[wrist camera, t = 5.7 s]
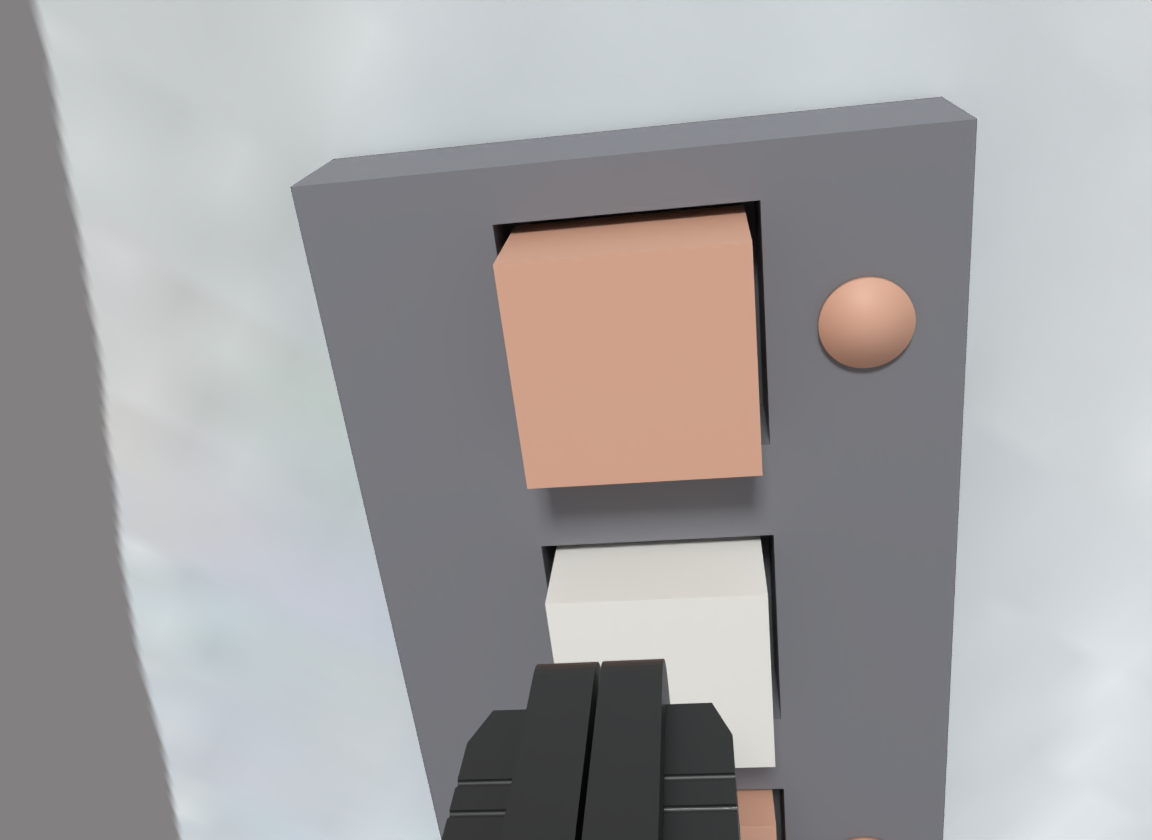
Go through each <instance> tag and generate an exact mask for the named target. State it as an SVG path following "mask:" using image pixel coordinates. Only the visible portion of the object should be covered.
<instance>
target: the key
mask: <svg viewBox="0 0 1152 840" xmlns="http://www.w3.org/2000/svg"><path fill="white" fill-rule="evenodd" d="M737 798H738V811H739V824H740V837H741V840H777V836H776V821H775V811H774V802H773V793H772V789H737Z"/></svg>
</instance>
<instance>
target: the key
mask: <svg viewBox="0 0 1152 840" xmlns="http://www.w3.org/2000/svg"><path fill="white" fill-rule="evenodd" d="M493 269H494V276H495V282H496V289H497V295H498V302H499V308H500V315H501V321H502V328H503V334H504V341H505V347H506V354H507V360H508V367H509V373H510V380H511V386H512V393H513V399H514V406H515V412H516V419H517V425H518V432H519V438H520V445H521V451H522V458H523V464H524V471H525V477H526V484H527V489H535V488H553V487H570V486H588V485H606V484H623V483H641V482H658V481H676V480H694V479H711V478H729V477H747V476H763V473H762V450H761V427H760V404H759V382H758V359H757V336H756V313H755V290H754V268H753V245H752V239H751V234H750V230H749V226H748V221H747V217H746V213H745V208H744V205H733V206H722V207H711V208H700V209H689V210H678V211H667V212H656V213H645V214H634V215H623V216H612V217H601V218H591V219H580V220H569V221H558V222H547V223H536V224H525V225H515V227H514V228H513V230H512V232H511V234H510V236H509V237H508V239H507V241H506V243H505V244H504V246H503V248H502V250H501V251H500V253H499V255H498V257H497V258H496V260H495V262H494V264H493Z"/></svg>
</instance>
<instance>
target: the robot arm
mask: <svg viewBox="0 0 1152 840" xmlns="http://www.w3.org/2000/svg"><path fill="white" fill-rule="evenodd" d="M457 780H458V786H457V787H455V791H454V794H453V798H452V802H451V806H450V809H449V812H450V816H449V818H447V821H446V825H445V828H444V832H443V836H442V840H741V837H740V824H739V811H738V798H737V785H736V772H735V759H734V746H733V735H732V733H731V731H730V730H729V728H728V727H727V725H726V724H725V722H724V721H723V719H722V717H721V716H720V714H719V713H718V711H717V710H716V708H715V707H714V705H713V704H712V703H687V704H670V696H669V687H668V678H667V669H666V663H665V659H644V660H619V661H603V662H602V665H601V666H600V664H599V662H576V663H551V664H537V665H536V667H535V670H534V674H533V678H532V683H531V688H530V693H529V698H528V703H527V708H526V709H521V710H493V711H492V712H491V714H490V715H489V716H488V717H487V719H486V720H485V721H484V722H483V724H482V725H481V726H480V727H479V729H478V730H477V731H476V732H475V734H474V735H473V736H472V737H471V739H470V740H469V741H468V742H467V745H466V749H465V753H464V757H463V761H462V764H461V768H460V772H459V776H458V779H457Z"/></svg>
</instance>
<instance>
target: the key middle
mask: <svg viewBox="0 0 1152 840" xmlns="http://www.w3.org/2000/svg"><path fill="white" fill-rule="evenodd" d="M545 607H546V614H547V620H548V627H549V633H550V640H551V646H552V653H553V659H554V663H576V662H599V664H600V666H601V665H602V662H603V661H619V660H644V659H665V663H666V669H667V678H668V687H669V696H670V704H687V703H712V704H713V705H714V707H715V708H716V710H717V711H718V713H719V714H720V716H721V717H722V719H723V721H724V722H725V724H726V725H727V727H728V728H729V730H730V731H731V733H732V735H733V746H734V759H735V768H750V767H775V746H774V723H773V701H772V678H771V655H770V632H769V609H768V592H767V585H766V577H765V569H764V562H763V554H762V547H761V539H760V536H740V537H720V538H700V539H679V540H659V541H639V542H618V543H598V544H577V545H557V548H556V552H555V557H554V562H553V567H552V572H551V577H550V582H549V587H548V592H547V597H546V602H545Z"/></svg>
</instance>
